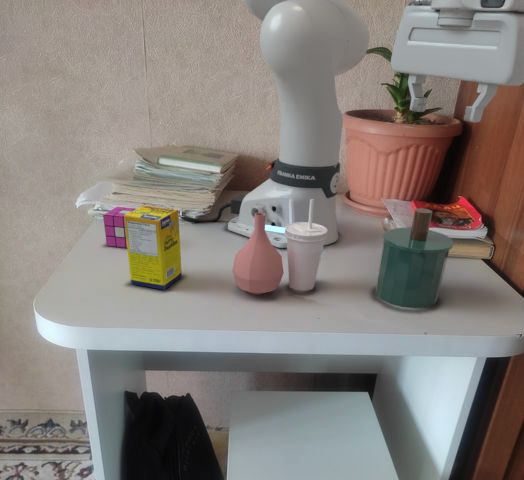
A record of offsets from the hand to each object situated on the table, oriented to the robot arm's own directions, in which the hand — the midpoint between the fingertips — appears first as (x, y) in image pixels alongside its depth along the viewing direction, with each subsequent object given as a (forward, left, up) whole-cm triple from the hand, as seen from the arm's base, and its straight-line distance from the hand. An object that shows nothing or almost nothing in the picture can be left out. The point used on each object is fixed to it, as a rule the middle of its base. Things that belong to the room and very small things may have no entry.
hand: (443, 116), depth 71 cm
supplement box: (-33, -23, -25) cm, 48 cm away
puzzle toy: (-49, -13, -25) cm, 57 cm away
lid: (+1, -6, -16) cm, 17 cm away
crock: (+1, -6, -25) cm, 26 cm away
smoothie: (-13, -12, -25) cm, 31 cm away
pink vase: (-18, -17, -25) cm, 36 cm away
